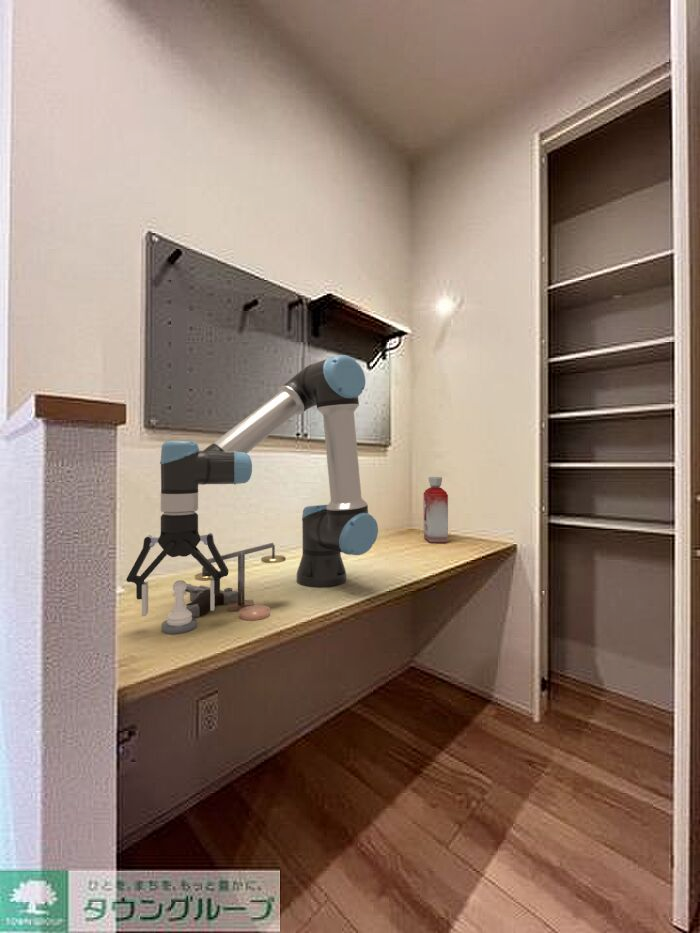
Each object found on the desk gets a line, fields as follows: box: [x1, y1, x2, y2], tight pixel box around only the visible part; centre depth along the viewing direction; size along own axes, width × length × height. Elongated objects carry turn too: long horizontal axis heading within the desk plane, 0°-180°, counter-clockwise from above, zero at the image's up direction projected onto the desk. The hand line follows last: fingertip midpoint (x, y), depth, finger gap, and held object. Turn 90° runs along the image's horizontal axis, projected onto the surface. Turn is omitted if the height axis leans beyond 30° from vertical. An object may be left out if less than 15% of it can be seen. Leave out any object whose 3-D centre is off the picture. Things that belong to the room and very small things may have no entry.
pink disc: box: [238, 604, 271, 621], centre depth 100 cm, size 7×7×1 cm
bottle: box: [422, 476, 449, 544], centre depth 200 cm, size 14×10×30 cm
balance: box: [194, 542, 287, 613], centre depth 105 cm, size 22×6×16 cm, turn 105°
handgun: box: [186, 583, 238, 618], centre depth 110 cm, size 3×24×15 cm
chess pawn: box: [166, 579, 192, 626], centre depth 92 cm, size 5×5×9 cm
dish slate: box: [161, 617, 198, 635], centre depth 92 cm, size 7×7×1 cm
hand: (179, 611), depth 92 cm, fingers open, 13 cm apart
